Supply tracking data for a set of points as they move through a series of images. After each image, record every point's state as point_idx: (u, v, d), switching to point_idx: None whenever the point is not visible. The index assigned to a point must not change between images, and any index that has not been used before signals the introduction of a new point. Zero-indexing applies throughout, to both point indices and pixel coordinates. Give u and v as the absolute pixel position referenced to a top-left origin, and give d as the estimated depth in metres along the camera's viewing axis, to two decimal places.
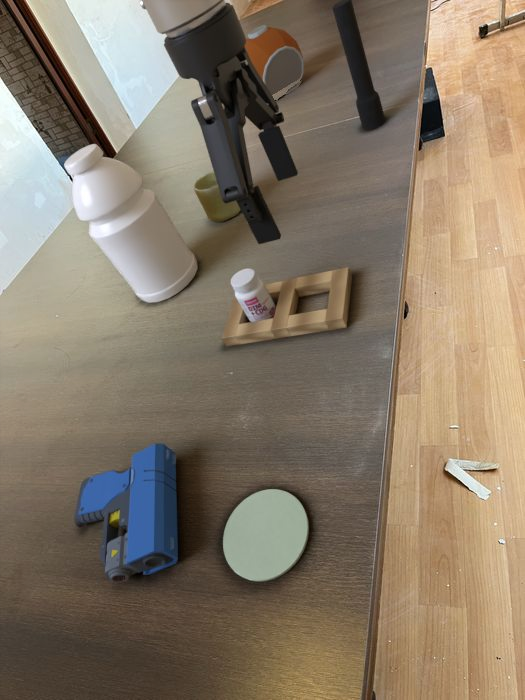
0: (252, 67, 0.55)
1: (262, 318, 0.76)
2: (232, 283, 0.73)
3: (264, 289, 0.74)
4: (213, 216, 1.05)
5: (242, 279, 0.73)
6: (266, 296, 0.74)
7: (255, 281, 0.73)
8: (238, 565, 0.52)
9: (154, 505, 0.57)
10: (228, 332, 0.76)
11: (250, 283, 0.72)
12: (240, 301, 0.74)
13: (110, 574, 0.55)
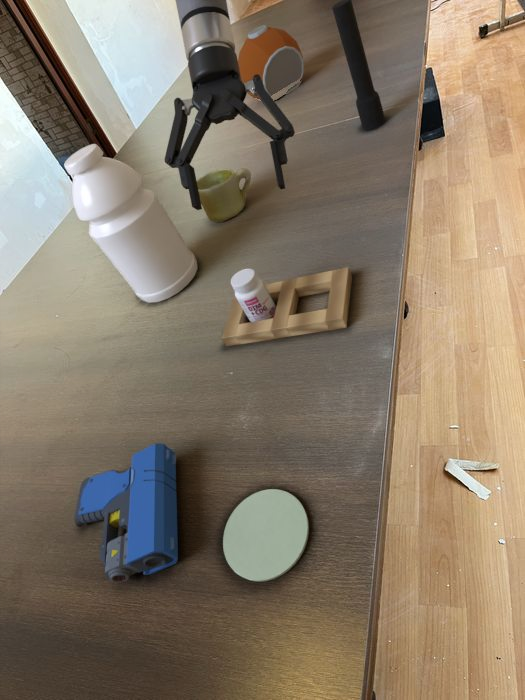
0: (262, 91, 0.72)
1: (262, 319, 0.76)
2: (232, 283, 0.73)
3: (264, 289, 0.74)
4: (213, 216, 1.05)
5: (242, 279, 0.73)
6: (266, 296, 0.74)
7: (255, 281, 0.73)
8: (238, 565, 0.52)
9: (154, 505, 0.57)
10: (228, 332, 0.76)
11: (250, 283, 0.72)
12: (240, 301, 0.74)
13: (110, 574, 0.55)
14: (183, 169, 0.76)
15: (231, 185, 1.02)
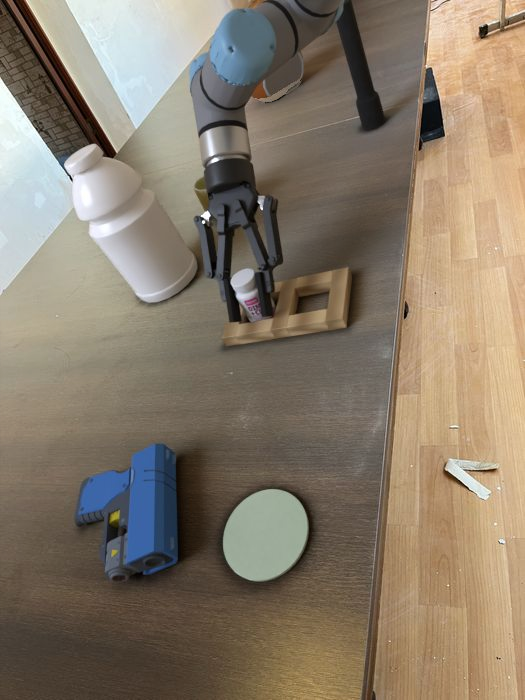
0: (266, 213, 0.71)
1: (262, 318, 0.76)
2: (232, 283, 0.73)
3: None
4: None
5: (242, 279, 0.73)
6: None
7: (255, 281, 0.73)
8: (238, 565, 0.52)
9: (154, 505, 0.57)
10: (228, 332, 0.76)
11: (250, 283, 0.72)
12: (240, 301, 0.74)
13: (110, 574, 0.55)
14: (223, 283, 0.75)
15: None
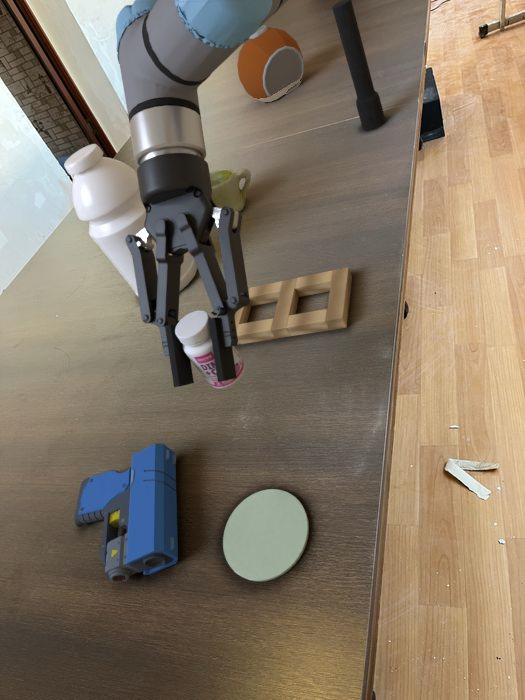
0: (224, 234, 0.48)
1: None
2: (177, 332, 0.51)
3: None
4: None
5: (190, 328, 0.51)
6: None
7: (209, 330, 0.51)
8: (238, 565, 0.52)
9: (154, 505, 0.57)
10: None
11: (202, 334, 0.50)
12: (189, 357, 0.52)
13: (110, 574, 0.55)
14: (166, 331, 0.53)
15: (231, 185, 1.02)
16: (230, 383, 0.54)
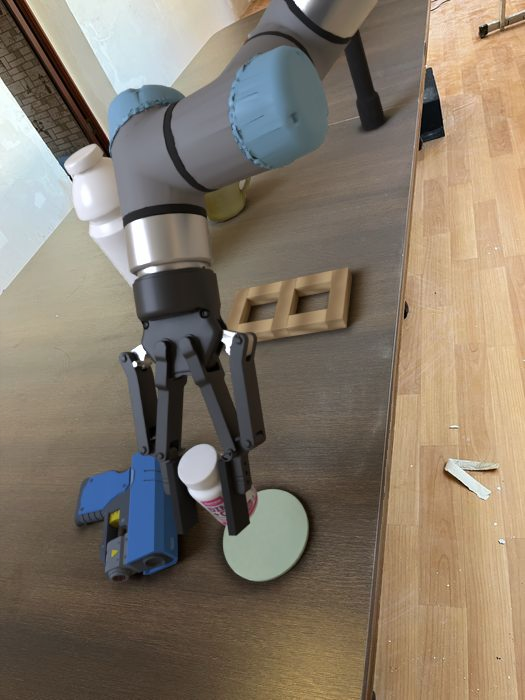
0: (236, 365, 0.41)
1: None
2: (180, 473, 0.43)
3: None
4: (213, 216, 1.05)
5: (196, 469, 0.43)
6: None
7: (218, 472, 0.43)
8: (238, 565, 0.52)
9: (154, 505, 0.57)
10: None
11: (209, 479, 0.42)
12: (195, 499, 0.44)
13: (110, 574, 0.55)
14: None
15: (231, 185, 1.02)
16: None
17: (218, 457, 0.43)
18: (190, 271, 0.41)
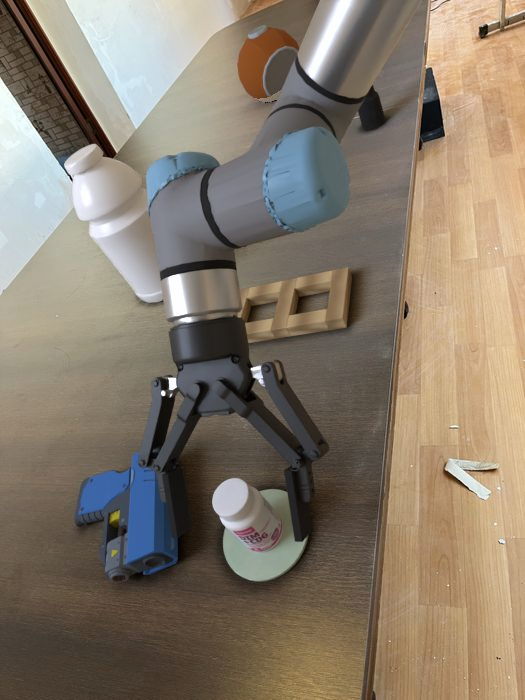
0: (274, 390, 0.44)
1: (260, 547, 0.50)
2: (214, 506, 0.48)
3: (263, 510, 0.49)
4: None
5: (229, 502, 0.47)
6: (266, 518, 0.49)
7: (250, 505, 0.47)
8: (238, 565, 0.52)
9: (154, 505, 0.57)
10: None
11: (242, 511, 0.47)
12: (227, 528, 0.49)
13: (110, 574, 0.55)
14: None
15: None
16: (269, 548, 0.51)
17: (249, 491, 0.47)
18: (223, 321, 0.45)
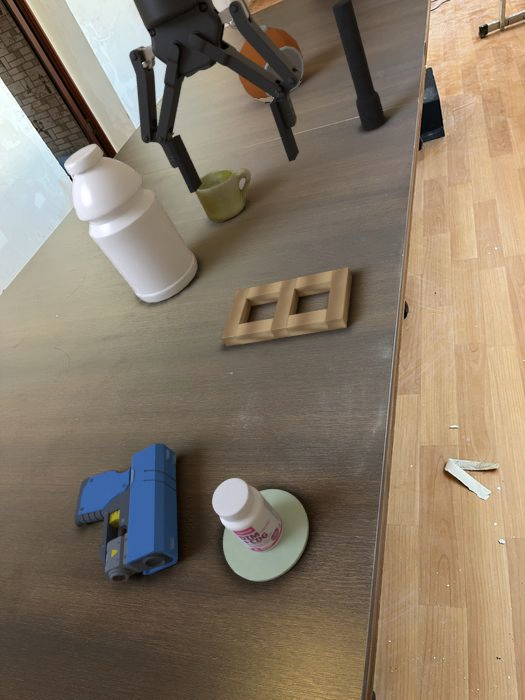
0: (246, 30, 0.50)
1: (260, 547, 0.50)
2: (214, 506, 0.48)
3: (263, 510, 0.49)
4: (213, 216, 1.05)
5: (229, 502, 0.47)
6: (266, 518, 0.49)
7: (250, 505, 0.47)
8: (238, 565, 0.52)
9: (154, 505, 0.57)
10: (228, 332, 0.76)
11: (242, 511, 0.47)
12: (227, 528, 0.49)
13: (110, 574, 0.55)
14: (167, 146, 0.60)
15: (231, 185, 1.02)
16: (269, 548, 0.51)
17: (249, 491, 0.47)
18: None
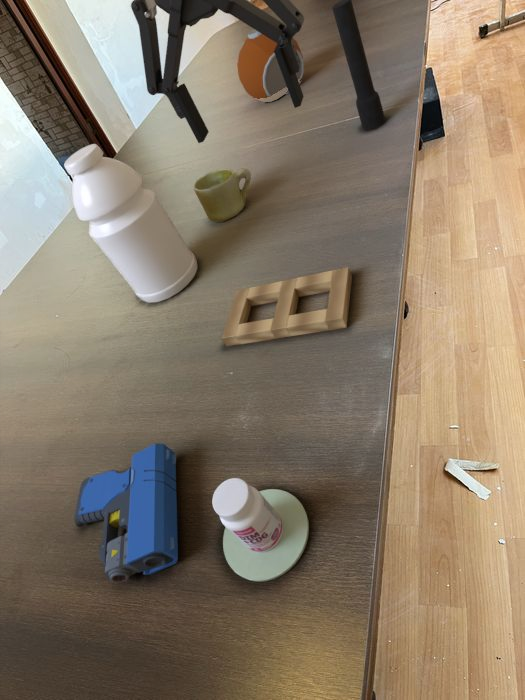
0: None
1: (260, 547, 0.50)
2: (214, 506, 0.48)
3: (263, 510, 0.49)
4: (213, 216, 1.05)
5: (229, 502, 0.47)
6: (266, 518, 0.49)
7: (250, 505, 0.47)
8: (238, 565, 0.52)
9: (154, 505, 0.57)
10: (228, 332, 0.76)
11: (242, 511, 0.47)
12: (227, 528, 0.49)
13: (110, 574, 0.55)
14: (174, 97, 0.61)
15: (231, 185, 1.02)
16: (269, 548, 0.51)
17: (249, 491, 0.47)
18: None
